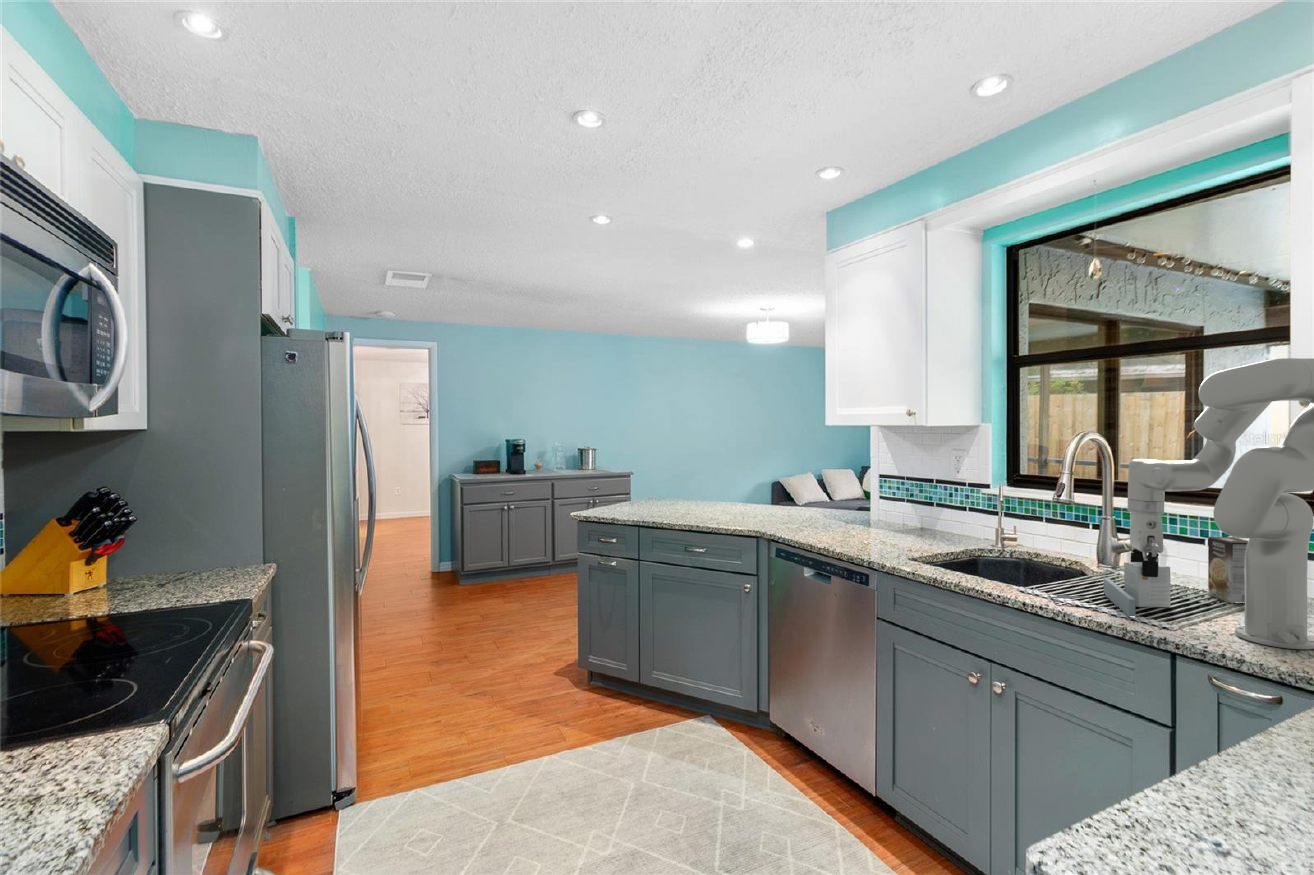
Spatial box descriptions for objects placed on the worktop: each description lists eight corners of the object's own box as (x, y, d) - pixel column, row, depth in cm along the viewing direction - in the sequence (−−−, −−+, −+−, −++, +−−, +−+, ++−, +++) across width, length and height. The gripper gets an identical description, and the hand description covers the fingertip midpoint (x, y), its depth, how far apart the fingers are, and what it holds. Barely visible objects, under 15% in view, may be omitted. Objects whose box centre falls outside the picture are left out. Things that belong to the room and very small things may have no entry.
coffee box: (1206, 594, 170) (1206, 536, 170) (1233, 595, 169) (1233, 536, 169) (1231, 603, 161) (1230, 542, 161) (1259, 604, 160) (1259, 542, 160)
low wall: (1135, 618, 149) (1135, 599, 149) (1129, 617, 149) (1129, 599, 149) (1109, 594, 171) (1108, 578, 171) (1103, 594, 171) (1103, 577, 171)
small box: (1156, 601, 163) (1155, 562, 163) (1171, 607, 158) (1171, 566, 158) (1123, 601, 164) (1123, 561, 164) (1137, 607, 159) (1137, 566, 159)
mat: (1098, 608, 157) (1098, 607, 157) (1056, 605, 161) (1056, 603, 161) (1088, 598, 167) (1088, 597, 167) (1048, 594, 171) (1048, 593, 171)
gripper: (1175, 512, 152) (1173, 582, 152) (1152, 503, 167) (1150, 566, 168) (1138, 510, 155) (1136, 578, 155) (1118, 501, 171) (1117, 563, 171)
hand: (1143, 572), depth 162 cm, fingers open, 9 cm apart
